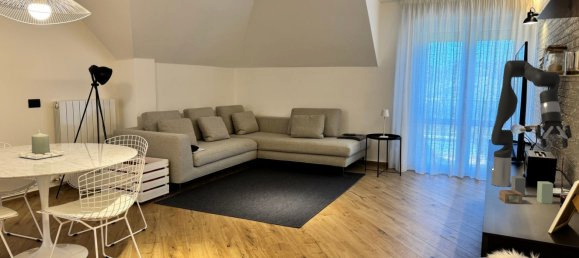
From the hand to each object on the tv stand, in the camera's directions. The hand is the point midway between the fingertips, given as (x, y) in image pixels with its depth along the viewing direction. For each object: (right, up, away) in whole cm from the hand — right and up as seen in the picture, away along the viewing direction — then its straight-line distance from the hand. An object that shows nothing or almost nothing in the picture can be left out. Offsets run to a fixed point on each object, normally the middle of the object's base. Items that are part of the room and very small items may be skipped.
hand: (554, 147), depth 178 cm
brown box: (-6, -29, +25) cm, 38 cm away
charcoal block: (+4, -27, +35) cm, 45 cm away
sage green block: (+9, -28, +22) cm, 37 cm away
